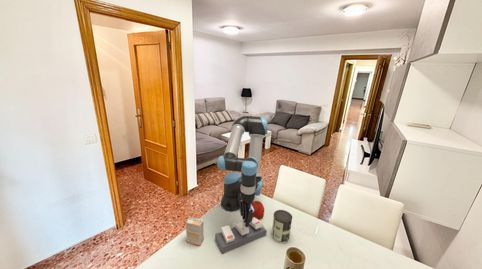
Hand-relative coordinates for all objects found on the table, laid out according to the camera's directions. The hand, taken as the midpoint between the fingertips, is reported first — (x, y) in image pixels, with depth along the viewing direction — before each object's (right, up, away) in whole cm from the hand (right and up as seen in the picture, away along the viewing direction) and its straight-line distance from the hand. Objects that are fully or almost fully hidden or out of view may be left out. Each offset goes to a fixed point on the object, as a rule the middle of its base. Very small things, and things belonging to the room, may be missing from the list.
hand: (245, 230), depth 103 cm
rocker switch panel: (-2, -7, +5) cm, 9 cm away
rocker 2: (-2, -2, +4) cm, 5 cm away
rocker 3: (+6, -1, +8) cm, 10 cm away
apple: (+8, -2, +24) cm, 25 cm away
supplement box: (-27, -7, +1) cm, 28 cm away
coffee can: (+21, -7, +8) cm, 23 cm away
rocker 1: (-10, -3, 0) cm, 10 cm away
